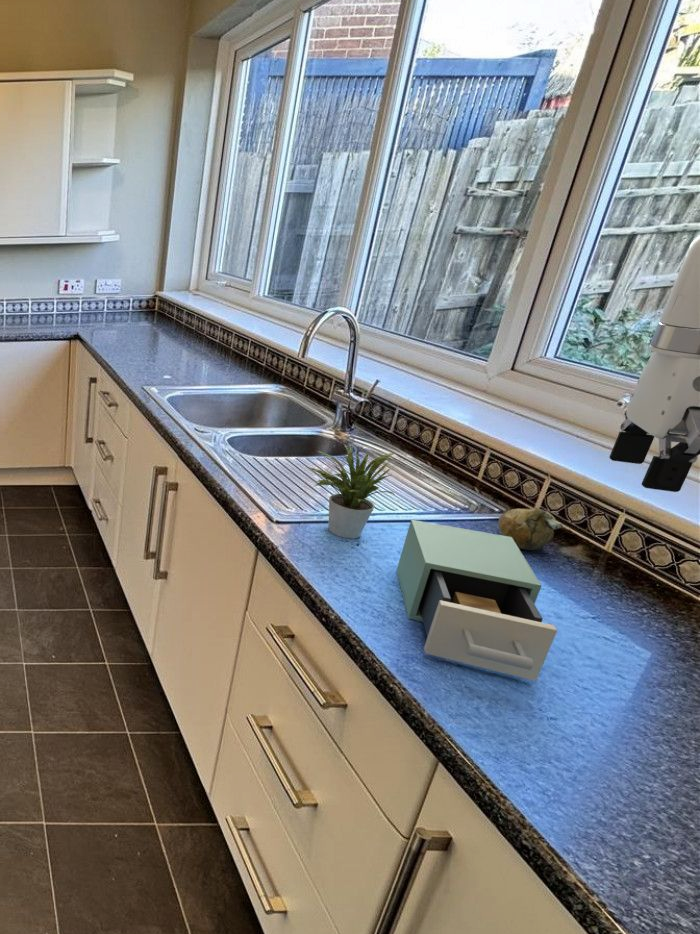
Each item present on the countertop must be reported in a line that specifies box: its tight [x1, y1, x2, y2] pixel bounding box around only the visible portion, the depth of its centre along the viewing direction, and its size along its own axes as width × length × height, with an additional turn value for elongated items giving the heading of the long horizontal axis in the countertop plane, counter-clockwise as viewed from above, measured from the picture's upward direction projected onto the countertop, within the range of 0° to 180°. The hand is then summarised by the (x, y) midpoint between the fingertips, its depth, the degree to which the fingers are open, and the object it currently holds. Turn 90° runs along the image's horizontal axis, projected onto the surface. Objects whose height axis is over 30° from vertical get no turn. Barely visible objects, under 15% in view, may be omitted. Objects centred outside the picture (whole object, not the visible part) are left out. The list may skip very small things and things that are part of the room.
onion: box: [497, 506, 563, 551], centre depth 108 cm, size 8×8×8 cm
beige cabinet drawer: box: [419, 569, 558, 682], centre depth 82 cm, size 18×11×8 cm, turn 152°
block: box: [452, 592, 501, 613], centre depth 84 cm, size 4×4×4 cm
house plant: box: [308, 444, 396, 540], centre depth 113 cm, size 14×14×16 cm
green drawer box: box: [396, 519, 543, 623], centre depth 92 cm, size 15×13×10 cm
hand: (641, 474), depth 79 cm, fingers open, 9 cm apart
